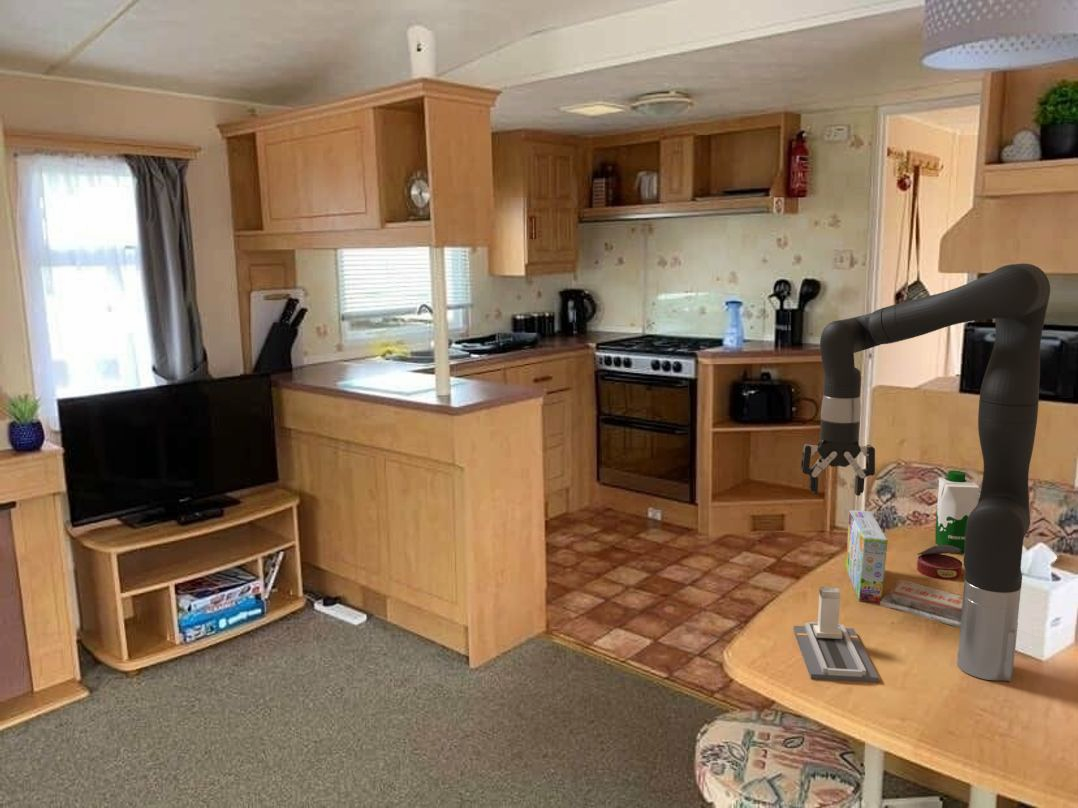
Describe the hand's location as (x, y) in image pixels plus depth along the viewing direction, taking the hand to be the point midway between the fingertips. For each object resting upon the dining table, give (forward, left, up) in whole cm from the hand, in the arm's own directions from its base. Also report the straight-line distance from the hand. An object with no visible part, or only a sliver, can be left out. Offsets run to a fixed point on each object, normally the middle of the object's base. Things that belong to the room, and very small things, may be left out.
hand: (836, 493), depth 172 cm
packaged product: (-17, -17, -29) cm, 38 cm away
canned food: (-16, -41, -28) cm, 52 cm away
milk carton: (-17, -60, -28) cm, 69 cm away
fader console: (-4, +15, -28) cm, 32 cm away
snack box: (-2, -24, -28) cm, 37 cm away
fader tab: (-2, +10, -27) cm, 28 cm away
